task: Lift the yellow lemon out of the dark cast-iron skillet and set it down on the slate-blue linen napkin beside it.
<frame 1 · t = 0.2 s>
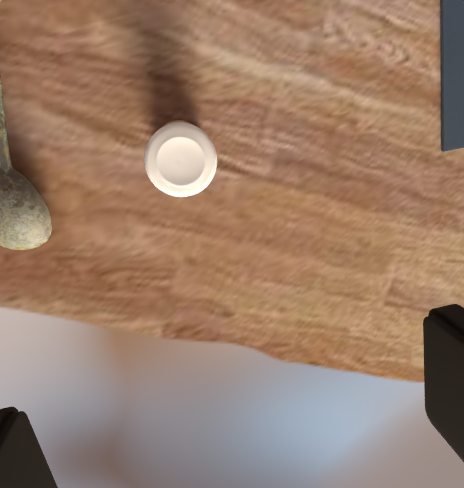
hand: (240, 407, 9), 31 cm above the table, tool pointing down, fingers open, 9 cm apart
soupspoon: (11, 130, 35), on the table
sprinkles bottle: (178, 145, 38), on the table
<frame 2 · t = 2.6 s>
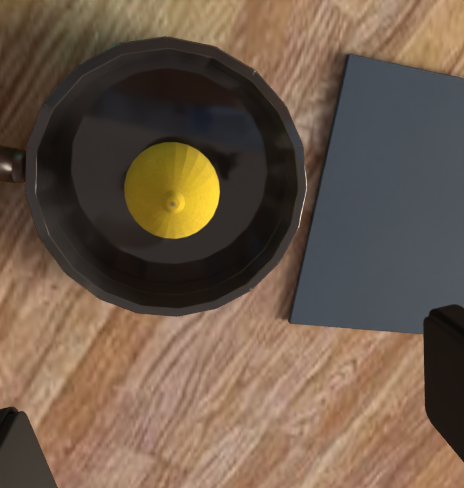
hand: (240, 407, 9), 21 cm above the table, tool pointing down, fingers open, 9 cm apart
napkin: (411, 213, 31), on the table
lemon: (172, 180, 28), resting on pan
pan: (172, 179, 28), on the table
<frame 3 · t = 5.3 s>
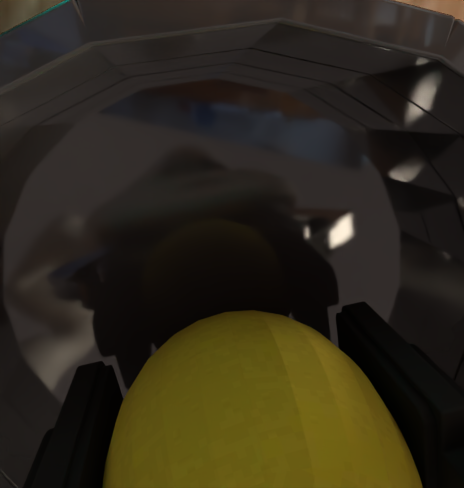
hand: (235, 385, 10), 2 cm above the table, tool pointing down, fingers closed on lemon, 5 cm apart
lemon: (227, 348, 12), resting on pan, touching gripper
pan: (227, 346, 12), on the table
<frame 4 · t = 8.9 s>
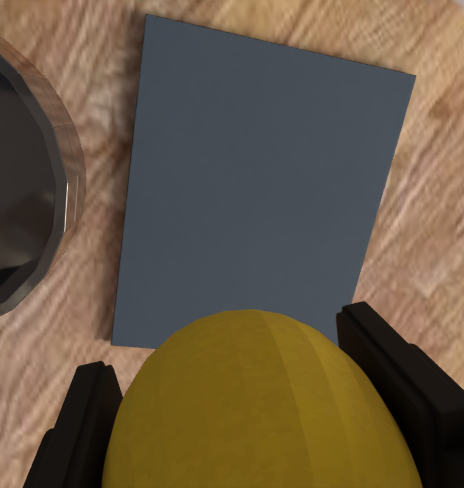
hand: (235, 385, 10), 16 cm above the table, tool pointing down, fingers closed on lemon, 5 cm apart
napkin: (254, 216, 26), on the table
lemon: (227, 347, 12), point 15 cm above the table, touching gripper
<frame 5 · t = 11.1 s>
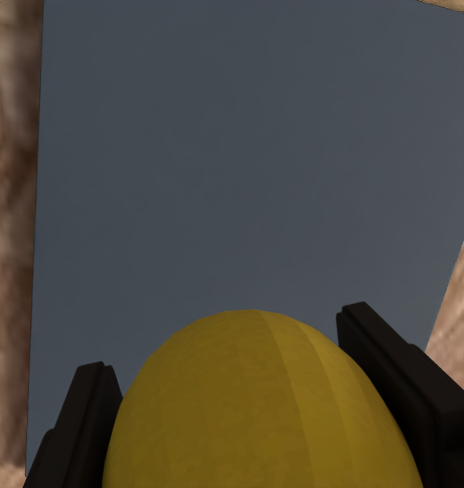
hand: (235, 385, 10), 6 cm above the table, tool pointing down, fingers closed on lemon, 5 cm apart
napkin: (256, 270, 16), on the table
lemon: (227, 347, 12), point 4 cm above the table, touching gripper
when the fingers open (2 cm above the table, at t = 12.6 s): lemon stays where it is, resting on napkin.
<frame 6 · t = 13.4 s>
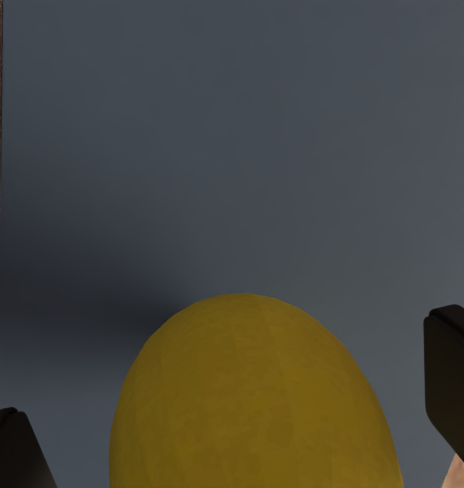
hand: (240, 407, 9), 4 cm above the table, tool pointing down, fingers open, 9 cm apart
napkin: (278, 304, 13), on the table
lemon: (224, 332, 12), resting on napkin
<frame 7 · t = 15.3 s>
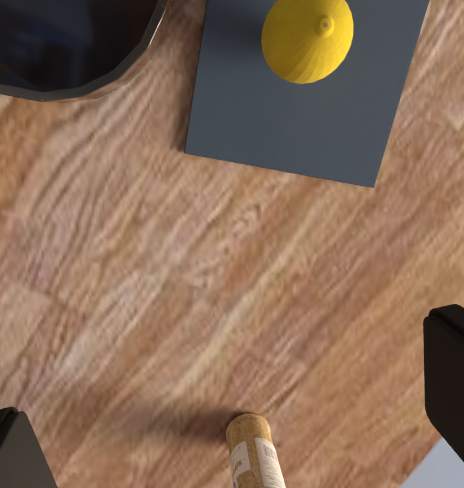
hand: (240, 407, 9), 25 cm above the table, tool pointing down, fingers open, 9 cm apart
napkin: (311, 37, 30), on the table
lemon: (289, 47, 30), resting on napkin
sprinkles bottle: (247, 428, 41), on the table
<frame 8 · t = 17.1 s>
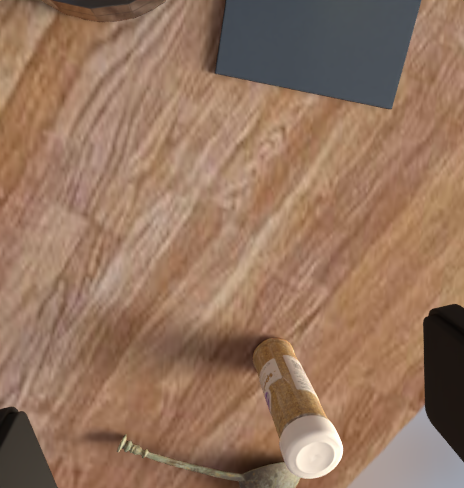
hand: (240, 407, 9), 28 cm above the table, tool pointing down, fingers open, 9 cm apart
soupspoon: (214, 458, 46), on the table
sprinkles bottle: (272, 354, 43), on the table
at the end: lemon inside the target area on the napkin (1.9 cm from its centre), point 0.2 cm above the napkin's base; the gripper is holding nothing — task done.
